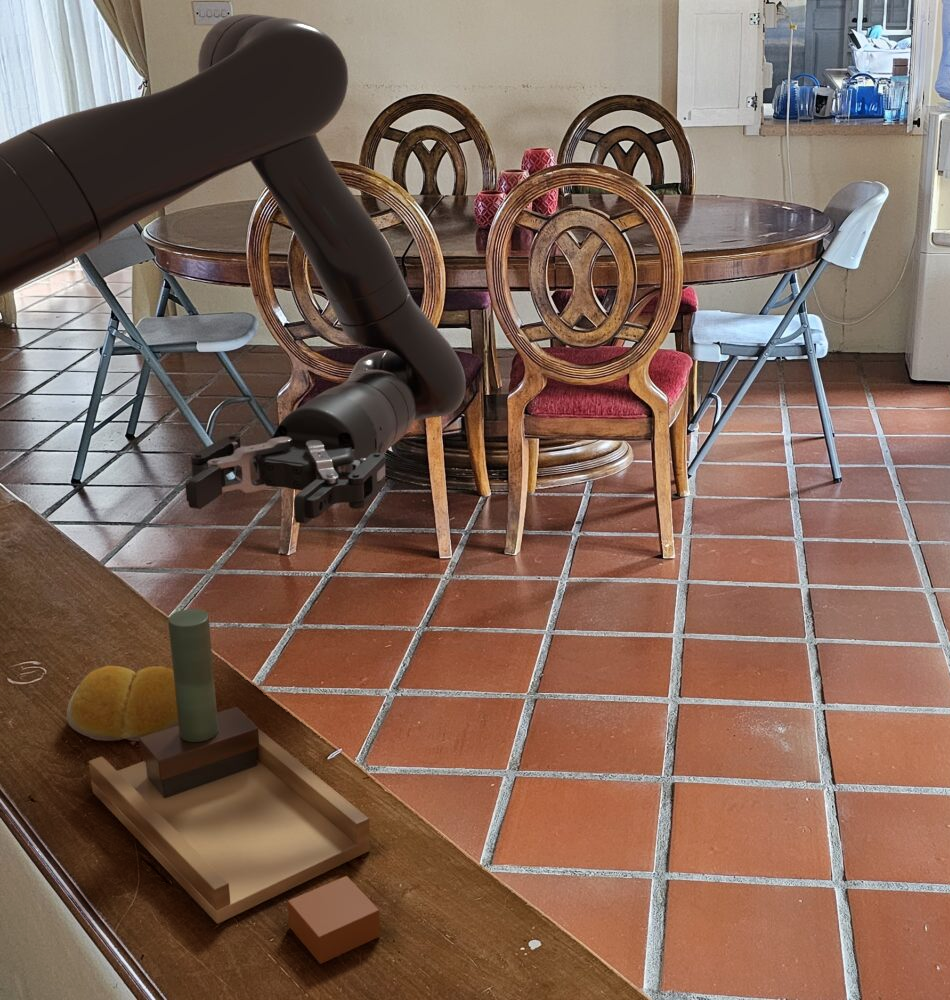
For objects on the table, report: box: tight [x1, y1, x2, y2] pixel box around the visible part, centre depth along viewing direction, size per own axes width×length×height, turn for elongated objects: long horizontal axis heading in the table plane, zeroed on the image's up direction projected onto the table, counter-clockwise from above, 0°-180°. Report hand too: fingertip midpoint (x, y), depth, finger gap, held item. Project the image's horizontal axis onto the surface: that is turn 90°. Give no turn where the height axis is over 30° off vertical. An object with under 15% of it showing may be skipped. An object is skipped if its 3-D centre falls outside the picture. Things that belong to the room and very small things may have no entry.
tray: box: [88, 728, 371, 924], centre depth 88 cm, size 18×11×3 cm, turn 43°
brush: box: [138, 608, 259, 798], centre depth 89 cm, size 4×7×12 cm, turn 129°
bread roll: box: [66, 665, 178, 742], centre depth 99 cm, size 8×9×4 cm
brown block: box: [287, 875, 381, 965], centre depth 78 cm, size 4×4×2 cm
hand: (245, 503), depth 95 cm, fingers open, 8 cm apart
